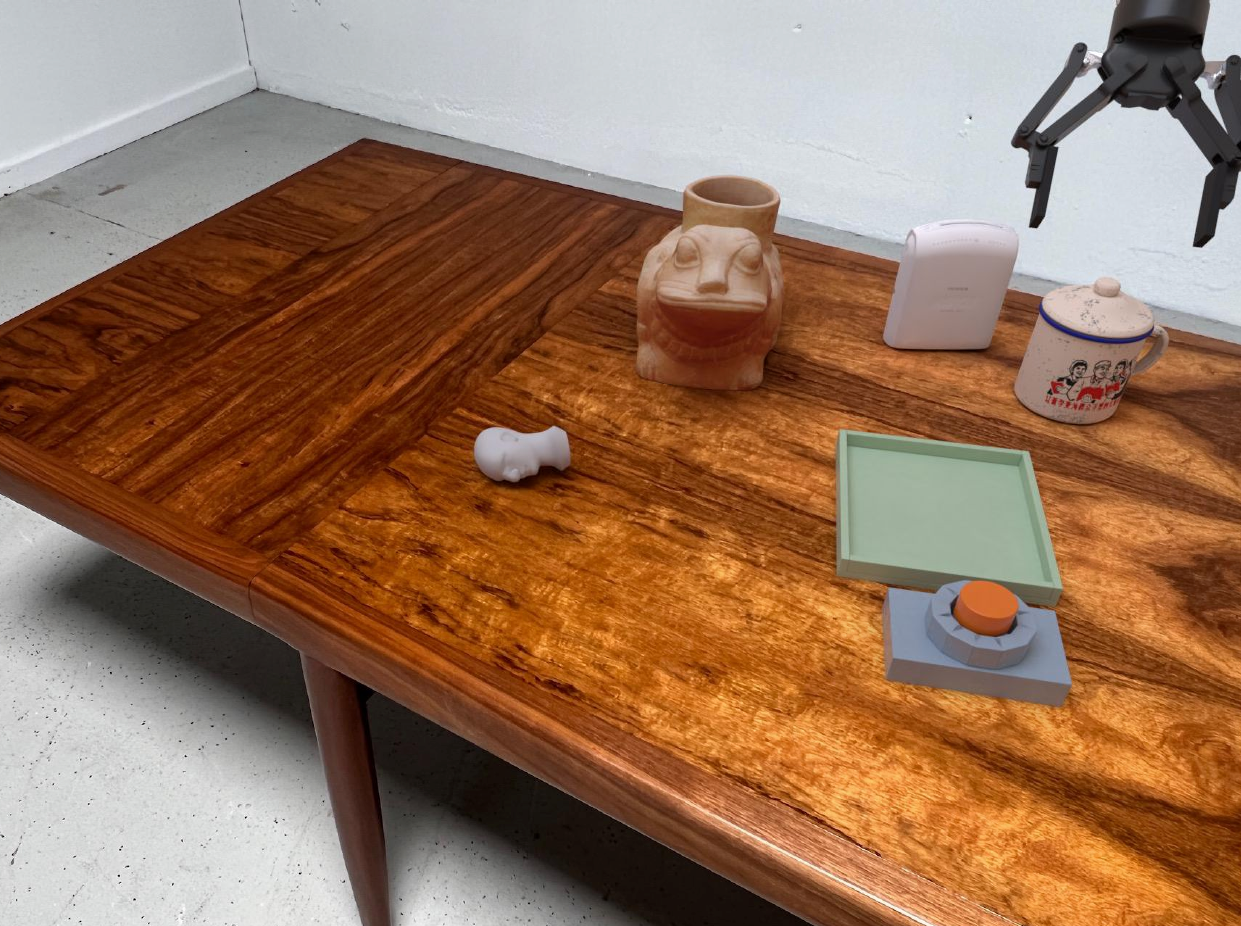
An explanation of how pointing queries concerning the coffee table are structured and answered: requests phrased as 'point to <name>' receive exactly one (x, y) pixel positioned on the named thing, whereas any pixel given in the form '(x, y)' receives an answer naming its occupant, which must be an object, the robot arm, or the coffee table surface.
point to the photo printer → (951, 285)
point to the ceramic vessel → (713, 289)
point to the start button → (986, 608)
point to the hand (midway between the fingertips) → (1118, 232)
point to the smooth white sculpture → (520, 452)
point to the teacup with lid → (1086, 352)
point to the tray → (941, 516)
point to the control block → (973, 649)
